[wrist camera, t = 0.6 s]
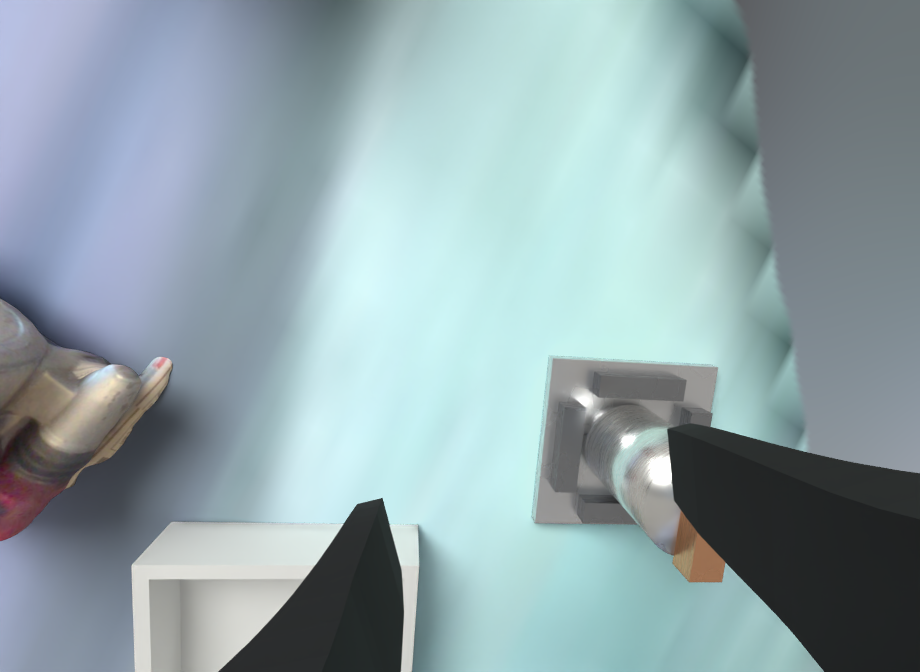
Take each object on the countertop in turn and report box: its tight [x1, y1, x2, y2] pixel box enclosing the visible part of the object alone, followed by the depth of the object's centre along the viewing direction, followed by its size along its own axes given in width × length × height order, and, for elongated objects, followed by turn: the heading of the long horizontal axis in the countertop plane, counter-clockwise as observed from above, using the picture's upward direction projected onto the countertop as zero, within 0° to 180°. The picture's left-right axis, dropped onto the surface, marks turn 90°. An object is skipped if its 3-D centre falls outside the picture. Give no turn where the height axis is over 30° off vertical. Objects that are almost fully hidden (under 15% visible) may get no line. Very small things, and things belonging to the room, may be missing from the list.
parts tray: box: [132, 522, 419, 672], centre depth 21 cm, size 11×11×3 cm
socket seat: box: [532, 356, 718, 524], centre depth 22 cm, size 8×8×1 cm
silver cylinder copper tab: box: [585, 405, 725, 582], centre depth 18 cm, size 4×4×6 cm
